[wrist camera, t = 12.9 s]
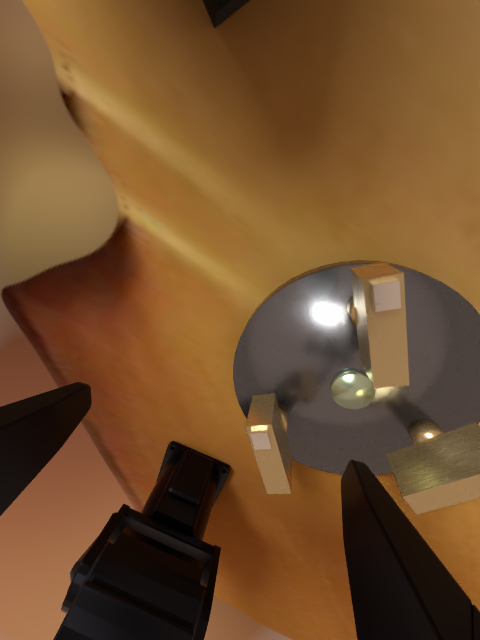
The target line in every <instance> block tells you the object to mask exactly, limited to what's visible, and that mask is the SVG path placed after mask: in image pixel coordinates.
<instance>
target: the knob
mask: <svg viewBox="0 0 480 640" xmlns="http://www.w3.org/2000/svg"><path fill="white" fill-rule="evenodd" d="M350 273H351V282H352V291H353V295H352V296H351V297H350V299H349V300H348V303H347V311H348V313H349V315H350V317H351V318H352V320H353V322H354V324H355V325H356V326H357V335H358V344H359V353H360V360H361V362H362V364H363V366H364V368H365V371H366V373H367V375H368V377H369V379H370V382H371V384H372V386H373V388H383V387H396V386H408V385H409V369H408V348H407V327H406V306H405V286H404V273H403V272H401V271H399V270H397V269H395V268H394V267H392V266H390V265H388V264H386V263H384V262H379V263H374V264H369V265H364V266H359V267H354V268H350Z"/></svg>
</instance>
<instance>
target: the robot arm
mask: <svg viewBox="0 0 480 640" xmlns="http://www.w3.org/2000/svg"><path fill="white" fill-rule="evenodd" d="M90 407H91V387H90V386H89V385H88V384H85V383H81V382H76V383H73V384H70V385H67V386H64V387H61V388H57V389H54V390H51V391H49V392H45V393H42V394H39V395H36V396H33V397H29V398H26V399H24V400H20V401H17V402H14V403H11V404H8V405H5V406H2V407H0V516H1V515H2V514H3V513H4V511H5V510H6V509H7V508H8V507H9V506H10V505H11V504H12V502H13V501H14V500H15V499H16V498H17V497H18V496H19V495H20V493H21V492H22V491H23V490H24V489H25V488H26V487H27V486H28V484H29V483H30V482H31V481H32V480H33V479H34V478H35V477H36V476H37V474H38V473H39V472H40V471H41V470H42V469H43V468H44V467H45V465H46V464H47V463H48V462H49V461H50V460H51V459H52V457H53V456H54V455H55V454H56V453H57V452H58V451H59V449H60V448H61V447H62V446H63V444H64V443H65V442H66V440H67V439H68V438H69V436H70V435H71V434H72V432H73V431H74V430H75V428H76V427H77V426H78V424H79V423H80V422H81V420H82V419H83V418H84V416H85V415H86V414H87V412H88V411H89V409H90ZM230 469H231V468H230V466H229V465H227V464H225V463H223V462H220V461H218V460H216V459H213V458H211V457H209V456H207V455H204V454H202V453H200V452H197V451H195V450H193V449H191V448H188V447H186V446H184V445H181V444H179V443H177V442H174V441H172V442H170V443H169V445H168V447H167V450H166V453H165V457H164V460H163V463H162V466H161V469H160V472H159V475H158V478H157V483H156V485H155V487H154V489H153V491H152V492H151V494H150V496H149V498H148V500H147V502H146V504H145V506H144V508H143V510H142V511H141V513H140V512H138V511H135V510H133V509H131V508H130V506H128V505H126V504H123V506H122V507H121V508H120V510H119V511H118V513H113V514H112V516H111V517H110V519H109V521H108V522H107V524H106V525H105V527H104V529H103V530H102V532H101V533H100V535H99V536H98V537H97V539H96V540H95V541H94V542H93V543H92V544H91V546H90V547H89V548H88V549H87V550H86V552H85V553H84V554H83V555H82V556H81V557H80V558H79V560H78V561H77V562H76V563H75V565H74V566H73V568H72V570H71V572H70V580H71V584H70V586H69V589H68V591H67V595H66V597H65V599H64V602H63V605H62V608H61V611H63V612H65V613H67V614H66V616H65V618H64V620H63V622H62V624H61V626H60V628H59V630H58V632H57V634H56V636H55V638H54V640H204V637H205V633H206V630H207V625H208V621H209V617H210V611H211V607H212V601H213V594H214V588H215V582H216V575H217V569H218V563H219V557H220V550H221V548H220V547H218V546H216V545H214V546H212V545H210V544H208V543H206V542H204V541H202V540H203V537H204V533H205V530H206V526H207V523H208V519H209V516H210V512H211V509H212V507H213V505H214V503H215V501H216V499H217V497H218V495H219V493H220V491H221V489H222V487H223V485H224V483H225V481H226V479H227V477H228V475H229V473H230ZM341 498H342V521H343V539H344V548H345V555H346V562H347V569H348V576H349V583H350V590H351V597H352V604H353V611H354V618H355V625H356V632H357V639H358V640H480V611H479V610H478V609H477V608H476V606H475V605H472V602H471V600H470V599H469V597H468V596H467V595H466V593H465V592H464V591H463V590H462V588H461V587H460V586H459V584H458V583H457V582H456V580H455V579H454V578H453V577H452V575H451V574H450V573H449V571H448V570H447V569H446V567H445V566H444V565H443V564H442V562H441V561H440V560H439V558H438V557H437V556H436V554H435V553H434V552H433V551H432V549H431V548H430V547H429V545H428V544H427V543H426V542H425V540H424V539H423V538H422V536H421V535H420V534H419V532H418V531H417V530H416V529H415V527H414V526H413V525H412V523H411V522H410V521H409V519H408V518H407V517H406V516H405V514H404V513H403V512H402V510H401V509H400V508H399V506H398V505H397V504H396V503H395V501H394V500H393V499H392V497H391V496H390V495H389V493H388V492H387V491H386V490H385V488H384V487H383V486H382V484H381V483H380V482H379V480H378V479H377V478H376V477H375V475H374V474H373V473H372V471H371V470H370V469H369V468H368V466H367V465H366V464H365V463H364V462H361V461H357V460H354V459H351V460H350V461H349V462H348V465H347V467H346V469H345V471H344V473H343V476H342V479H341Z"/></svg>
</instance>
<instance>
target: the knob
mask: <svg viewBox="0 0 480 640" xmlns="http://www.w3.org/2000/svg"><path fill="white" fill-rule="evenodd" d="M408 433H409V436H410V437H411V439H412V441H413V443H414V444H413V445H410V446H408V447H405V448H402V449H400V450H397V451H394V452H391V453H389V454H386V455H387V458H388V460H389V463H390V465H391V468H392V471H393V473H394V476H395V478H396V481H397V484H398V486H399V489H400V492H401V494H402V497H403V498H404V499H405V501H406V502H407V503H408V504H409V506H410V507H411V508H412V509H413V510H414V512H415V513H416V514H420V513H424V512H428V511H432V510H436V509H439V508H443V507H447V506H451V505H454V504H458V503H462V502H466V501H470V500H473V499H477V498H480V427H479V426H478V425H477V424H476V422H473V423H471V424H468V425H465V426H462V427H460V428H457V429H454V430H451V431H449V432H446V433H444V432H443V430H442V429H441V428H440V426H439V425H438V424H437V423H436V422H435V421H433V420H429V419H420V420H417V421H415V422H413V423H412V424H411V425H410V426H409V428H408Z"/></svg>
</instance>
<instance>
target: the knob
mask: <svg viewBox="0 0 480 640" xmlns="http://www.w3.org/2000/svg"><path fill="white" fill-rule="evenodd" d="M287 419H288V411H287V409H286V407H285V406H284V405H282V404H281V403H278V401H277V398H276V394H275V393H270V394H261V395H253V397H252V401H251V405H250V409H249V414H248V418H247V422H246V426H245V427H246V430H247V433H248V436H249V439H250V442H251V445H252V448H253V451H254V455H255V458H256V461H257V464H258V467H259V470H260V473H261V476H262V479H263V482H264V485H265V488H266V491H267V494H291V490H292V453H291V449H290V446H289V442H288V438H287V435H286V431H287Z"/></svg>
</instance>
